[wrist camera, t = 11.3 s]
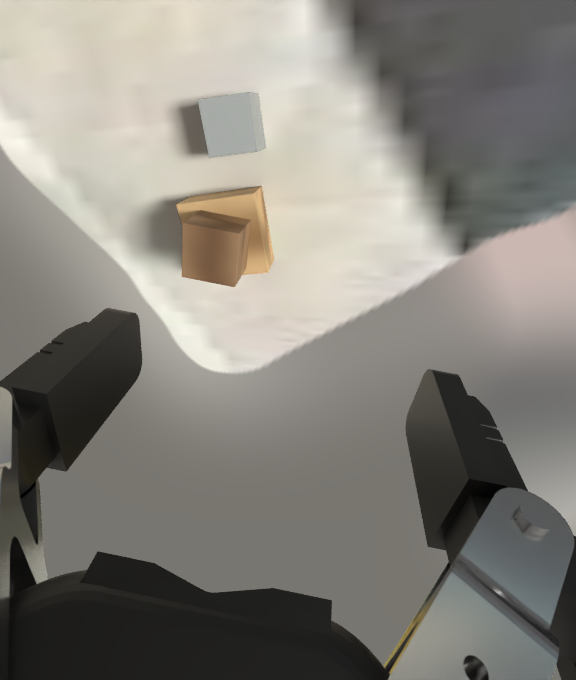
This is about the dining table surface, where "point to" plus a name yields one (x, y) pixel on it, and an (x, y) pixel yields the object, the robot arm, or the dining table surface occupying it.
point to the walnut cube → (215, 247)
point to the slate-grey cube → (232, 124)
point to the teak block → (242, 206)
